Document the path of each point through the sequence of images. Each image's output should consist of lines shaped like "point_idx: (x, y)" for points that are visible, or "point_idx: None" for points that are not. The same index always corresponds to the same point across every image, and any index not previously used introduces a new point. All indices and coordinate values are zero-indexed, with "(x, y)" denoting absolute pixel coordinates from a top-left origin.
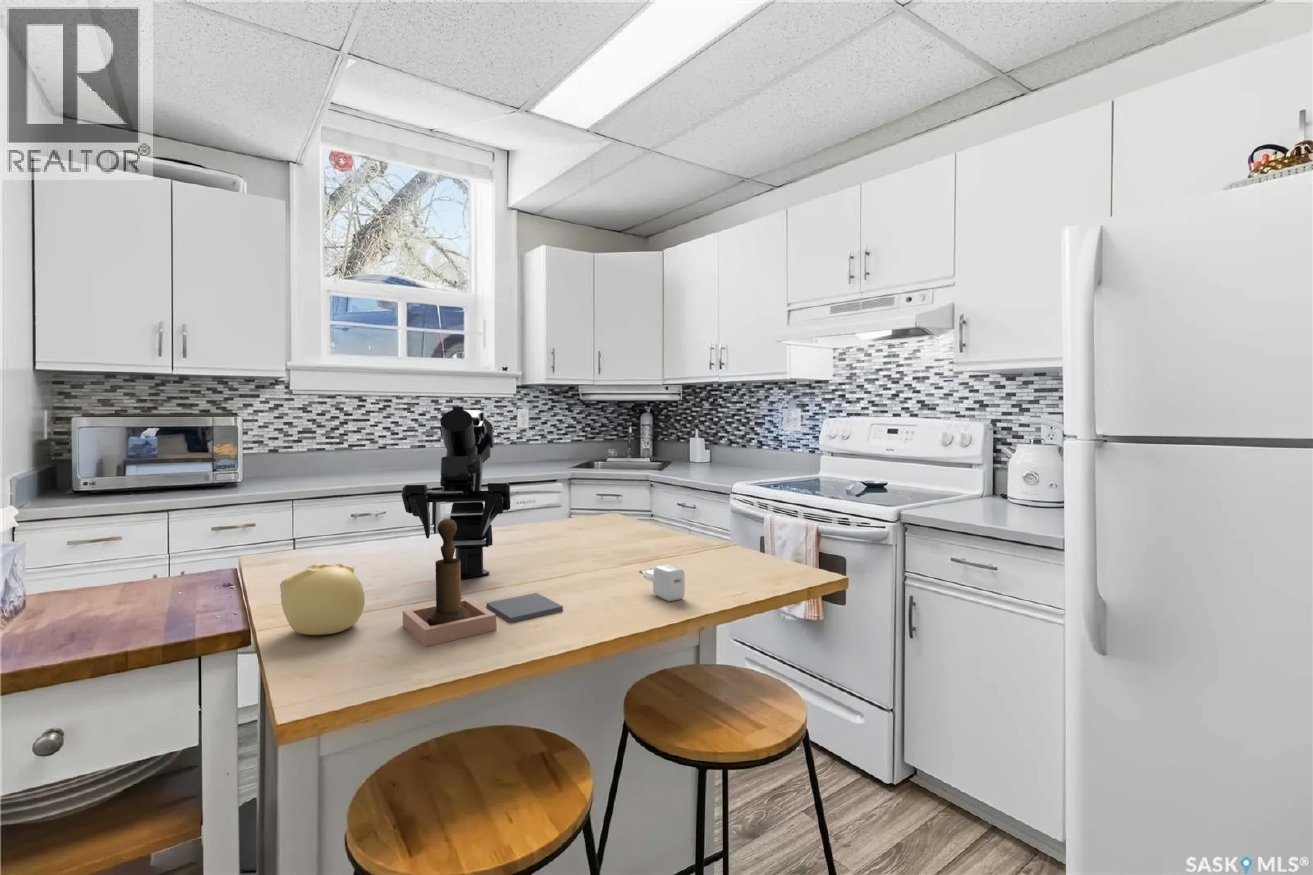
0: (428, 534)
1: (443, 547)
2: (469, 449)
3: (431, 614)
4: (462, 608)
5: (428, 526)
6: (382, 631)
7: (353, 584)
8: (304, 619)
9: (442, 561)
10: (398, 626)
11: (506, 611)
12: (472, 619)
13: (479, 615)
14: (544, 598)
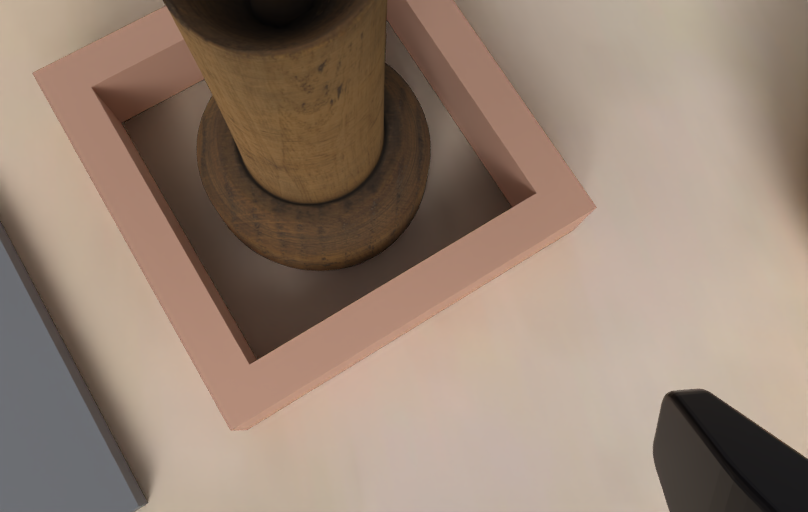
0: (675, 429)
1: None
2: None
3: (404, 104)
4: (234, 156)
5: (752, 490)
6: (647, 160)
7: None
8: None
9: (339, 12)
10: (591, 223)
11: (2, 316)
12: (161, 14)
13: (147, 179)
14: None
